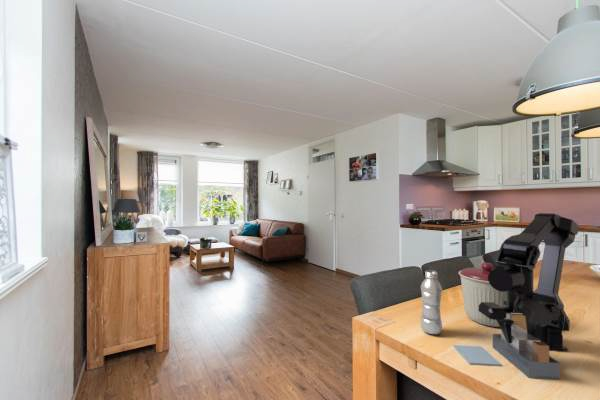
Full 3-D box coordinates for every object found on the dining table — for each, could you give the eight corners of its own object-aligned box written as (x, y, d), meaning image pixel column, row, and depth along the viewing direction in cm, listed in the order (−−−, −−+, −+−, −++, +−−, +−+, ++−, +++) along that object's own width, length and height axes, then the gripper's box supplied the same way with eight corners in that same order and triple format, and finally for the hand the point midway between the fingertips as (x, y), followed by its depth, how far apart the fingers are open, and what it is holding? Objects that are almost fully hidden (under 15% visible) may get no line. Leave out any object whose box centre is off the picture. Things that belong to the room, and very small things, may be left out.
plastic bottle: (435, 327, 93) (435, 269, 93) (446, 337, 86) (446, 274, 86) (416, 327, 93) (416, 269, 93) (426, 337, 86) (426, 274, 86)
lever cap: (501, 338, 78) (501, 323, 78) (521, 338, 77) (520, 324, 77) (518, 351, 71) (518, 335, 71) (540, 352, 70) (540, 336, 70)
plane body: (492, 346, 80) (491, 319, 80) (517, 347, 80) (516, 320, 80) (528, 377, 66) (528, 344, 66) (559, 379, 66) (559, 346, 66)
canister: (514, 317, 101) (514, 261, 102) (524, 337, 86) (524, 271, 86) (458, 307, 111) (458, 256, 111) (458, 324, 95) (458, 264, 95)
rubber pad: (453, 346, 81) (453, 345, 81) (481, 347, 80) (481, 346, 80) (469, 364, 72) (469, 362, 72) (501, 365, 71) (501, 364, 71)
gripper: (503, 294, 67) (503, 358, 67) (585, 297, 65) (585, 362, 65) (477, 281, 78) (477, 336, 78) (546, 283, 76) (547, 339, 76)
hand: (519, 343), depth 74 cm, fingers closed on lever cap, 5 cm apart
